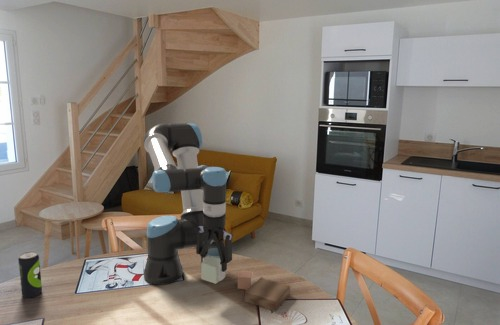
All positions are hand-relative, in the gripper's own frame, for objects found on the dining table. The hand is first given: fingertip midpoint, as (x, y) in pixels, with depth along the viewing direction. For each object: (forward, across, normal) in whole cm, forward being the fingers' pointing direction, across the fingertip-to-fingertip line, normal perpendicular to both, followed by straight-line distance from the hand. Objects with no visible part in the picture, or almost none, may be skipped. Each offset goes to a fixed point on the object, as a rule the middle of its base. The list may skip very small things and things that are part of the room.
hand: (213, 276), depth 130 cm
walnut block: (+10, +16, +12) cm, 22 cm away
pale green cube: (0, 0, 0) cm, 1 cm away
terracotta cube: (+10, +5, +14) cm, 18 cm away
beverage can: (+10, -57, -30) cm, 66 cm away
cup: (+10, -9, +14) cm, 20 cm away
